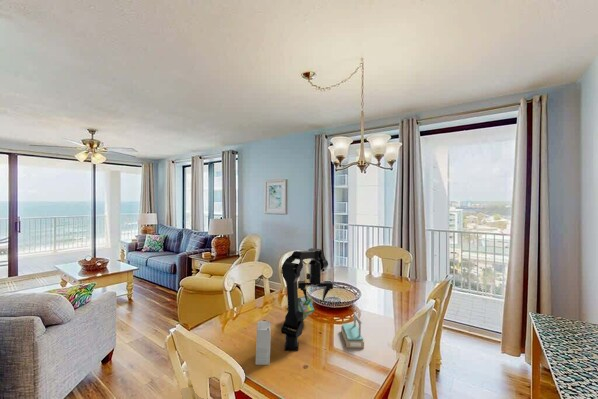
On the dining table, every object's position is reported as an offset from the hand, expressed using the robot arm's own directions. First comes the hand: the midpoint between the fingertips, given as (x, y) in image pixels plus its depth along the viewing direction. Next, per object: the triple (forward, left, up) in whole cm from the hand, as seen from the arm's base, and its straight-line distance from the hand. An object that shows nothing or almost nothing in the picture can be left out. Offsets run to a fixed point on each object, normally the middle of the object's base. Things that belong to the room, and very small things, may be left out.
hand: (314, 300), depth 144 cm
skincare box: (-30, +24, -15) cm, 41 cm away
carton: (-12, -18, -15) cm, 26 cm away
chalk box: (+8, +11, -11) cm, 18 cm away
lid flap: (-12, -18, -11) cm, 24 cm away
